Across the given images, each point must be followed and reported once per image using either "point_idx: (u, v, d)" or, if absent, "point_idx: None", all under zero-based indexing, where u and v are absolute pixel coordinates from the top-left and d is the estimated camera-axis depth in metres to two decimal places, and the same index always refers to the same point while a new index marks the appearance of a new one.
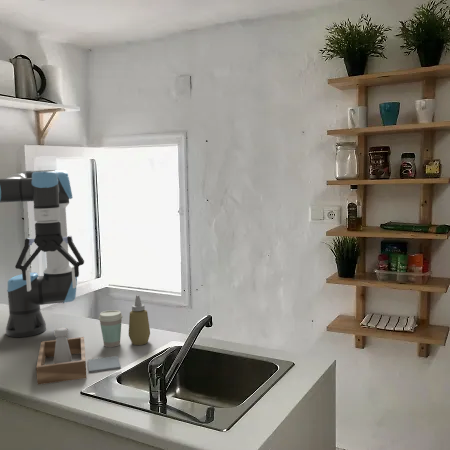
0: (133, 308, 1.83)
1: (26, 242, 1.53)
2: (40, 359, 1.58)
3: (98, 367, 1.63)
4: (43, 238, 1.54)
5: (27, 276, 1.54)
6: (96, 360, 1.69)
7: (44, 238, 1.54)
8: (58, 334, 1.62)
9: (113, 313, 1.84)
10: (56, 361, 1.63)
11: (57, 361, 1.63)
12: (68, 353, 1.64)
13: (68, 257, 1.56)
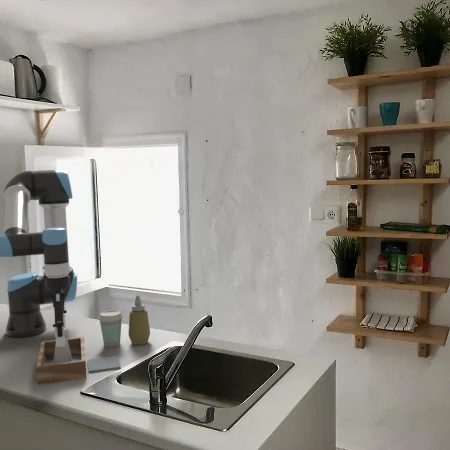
0: (133, 308, 1.83)
1: None
2: (40, 359, 1.58)
3: (98, 367, 1.63)
4: None
5: None
6: (96, 360, 1.69)
7: None
8: None
9: (113, 313, 1.84)
10: (56, 361, 1.63)
11: (57, 361, 1.63)
12: (68, 353, 1.64)
13: None
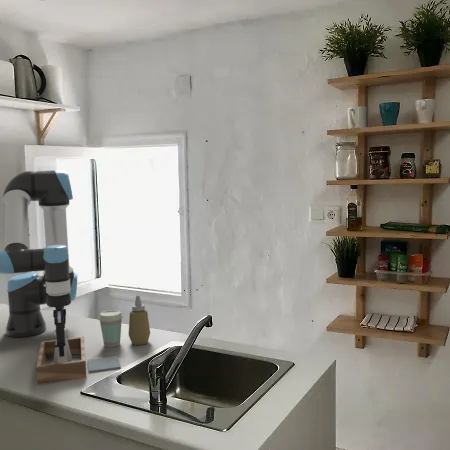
0: (133, 308, 1.83)
1: None
2: (40, 359, 1.58)
3: (98, 367, 1.63)
4: None
5: None
6: (96, 360, 1.69)
7: None
8: None
9: (113, 313, 1.84)
10: (56, 361, 1.63)
11: (57, 361, 1.63)
12: (68, 353, 1.64)
13: None
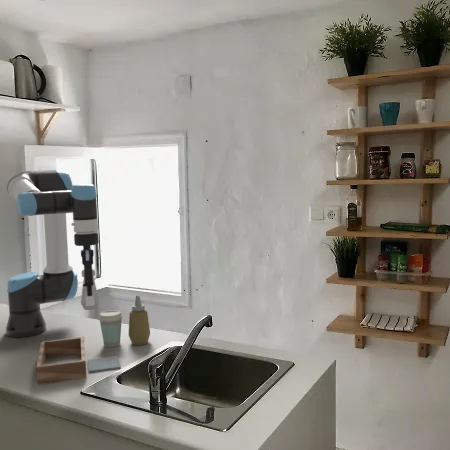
0: (133, 308, 1.83)
1: None
2: (40, 359, 1.58)
3: (98, 367, 1.63)
4: None
5: None
6: (96, 360, 1.69)
7: None
8: None
9: (113, 313, 1.84)
10: (83, 301, 1.61)
11: (84, 301, 1.61)
12: (95, 294, 1.62)
13: None
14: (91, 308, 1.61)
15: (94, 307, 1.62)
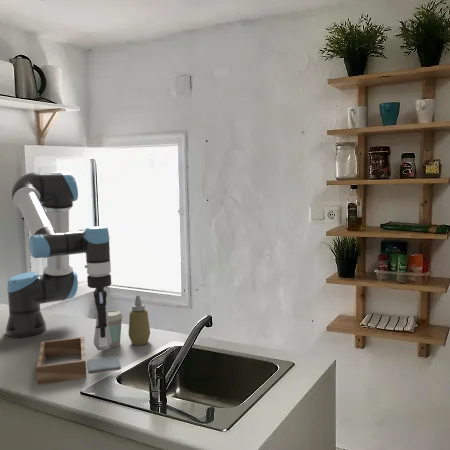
0: (133, 308, 1.83)
1: None
2: (40, 359, 1.58)
3: (98, 367, 1.63)
4: None
5: None
6: (96, 360, 1.69)
7: None
8: None
9: (113, 313, 1.84)
10: (97, 342, 1.63)
11: (98, 342, 1.63)
12: (108, 334, 1.64)
13: None
14: (104, 348, 1.64)
15: (107, 347, 1.64)
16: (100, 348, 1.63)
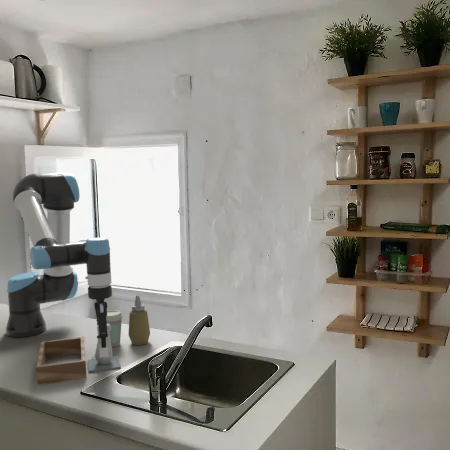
0: (133, 308, 1.83)
1: (96, 300, 1.70)
2: (40, 359, 1.58)
3: (98, 367, 1.63)
4: None
5: (97, 331, 1.70)
6: (96, 360, 1.69)
7: None
8: None
9: (113, 313, 1.84)
10: (98, 356, 1.64)
11: (99, 356, 1.64)
12: (110, 349, 1.65)
13: None
14: (105, 363, 1.64)
15: (108, 362, 1.65)
16: (101, 362, 1.64)
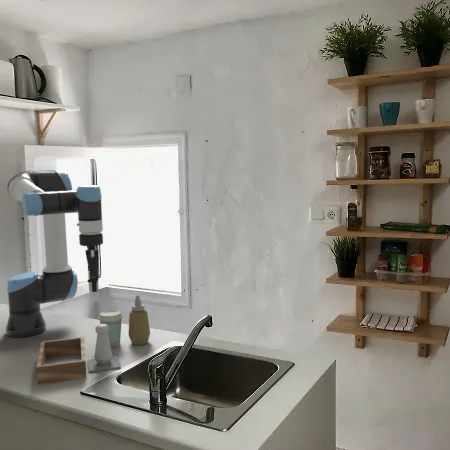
0: (133, 308, 1.83)
1: (87, 247, 1.71)
2: (40, 359, 1.58)
3: (98, 367, 1.63)
4: None
5: (88, 277, 1.73)
6: None
7: None
8: (100, 330, 1.63)
9: (113, 313, 1.84)
10: (97, 357, 1.64)
11: (98, 357, 1.63)
12: (109, 349, 1.65)
13: (89, 270, 1.60)
14: (105, 363, 1.64)
15: (108, 362, 1.65)
16: (101, 363, 1.64)
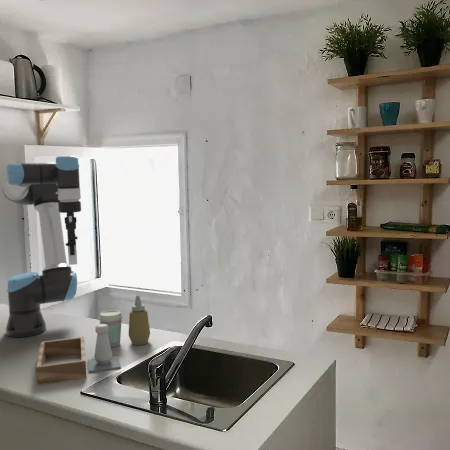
0: (133, 308, 1.83)
1: None
2: (40, 359, 1.58)
3: (98, 367, 1.63)
4: None
5: None
6: None
7: None
8: (100, 330, 1.63)
9: (113, 313, 1.84)
10: (97, 357, 1.64)
11: (98, 357, 1.63)
12: (109, 349, 1.65)
13: None
14: (105, 363, 1.64)
15: (108, 362, 1.65)
16: (101, 363, 1.64)
